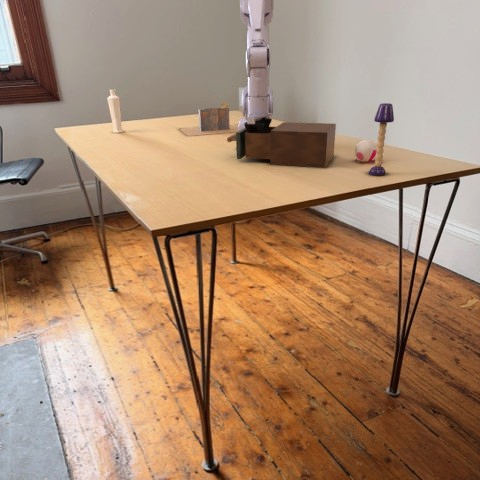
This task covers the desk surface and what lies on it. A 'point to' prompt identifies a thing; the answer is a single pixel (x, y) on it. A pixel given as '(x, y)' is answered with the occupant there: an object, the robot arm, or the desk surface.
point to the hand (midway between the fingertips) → (258, 146)
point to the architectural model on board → (212, 122)
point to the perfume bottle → (115, 111)
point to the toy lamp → (381, 135)
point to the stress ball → (365, 151)
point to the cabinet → (302, 144)
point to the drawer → (252, 144)
